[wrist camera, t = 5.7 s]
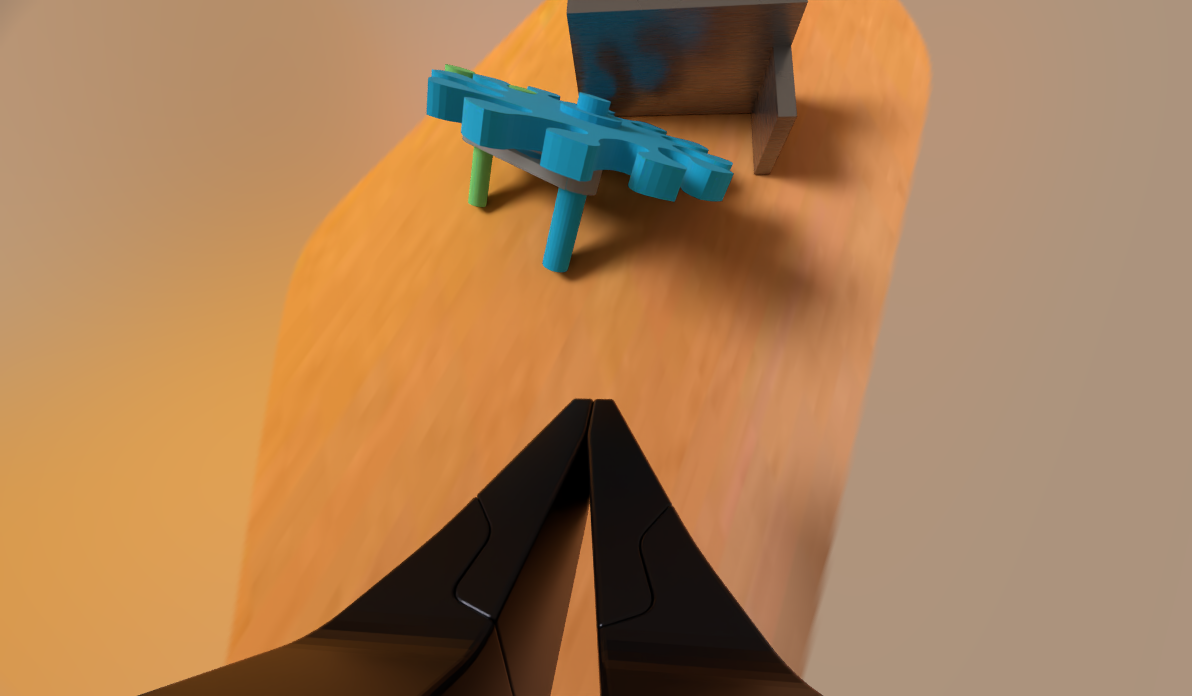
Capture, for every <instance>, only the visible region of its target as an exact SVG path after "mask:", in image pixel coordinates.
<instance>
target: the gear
mask: <svg viewBox="0 0 1192 696" xmlns="http://www.w3.org/2000/svg"><path fill="white" fill-rule="evenodd" d="M610 103H611V102H610V101H607V100H605V99H602V98H599V97H596V96H593V95H590V94H586V93H582V92H580V93H579V98H578V102H577V104H575V103H570V102H564V101H560V96H559V95H557V94H554V93H551V92H548V91H544V90H541V89H537V88H534V87H530V86H528V88H527V89H525V88H521V87H518V86H513V85H510V84H509V83H507V82H504V81H501V80H498V79H494V78H490V77H486V76H482V75H477V74H475V72H472V71H470V70H467V69H464V68H461V67H457V66H453V65H448V64H446V65H445V71H441V70H432V77H429V78H428V93H427V115H429V116H432V117H435V118H439V119H443V120H447V121H452V122H458V123H462V128H461V133H462V135H463V138H462V139H463V140H464V141H465V142H467V143H468V144H471V145H473V146H474V152H473V161H472V171H471V180H470V190H469V199H468V203H469V204H471V205H473V206H477V207H485V206H486V204H487V196H488V189H489V181H490V173H491V165H492V158H493V156H495V157H497V158H499V159H501V160H504V161H506V162H508V163H510V164H512V165H514V166H516V167H518V168H520V169H522V170H524V171H526V172H528V173H530V174H532V175H535V176H537V177H539V178H541V179H543V180H545V181H547V182H549V183H551V184H553V185H555V186H557V187H559V189H558V194H557V199H556V203H555V208H554V212H553V217H552V222H551V226H550V231H549V235H548V240H547V244H546V249H545V254H544V258H543V263H542V264H543V266H544V267H545V268H547V269H549V270H551V271H555V272H566V271H567V270H568V267H569V263H570V259H571V256H572V252H573V248H574V244H575V240H576V236H577V232H578V228H579V224H580V220H581V216H582V213H583V209H584V205H585V201H586V197H587V195H595V194H596V193H597V189H598V186H599V182H600V178H601V174H602V171H603V170H615V171H619V172H623V173H626V174H628V175H631V177H630V180H629V183H628V187H629V188H630V189H631V190H633V191H634V192H637V193H640V194H643V195H647V196H651V197H654V198H659V199H663V200H668V201H673V202H674V201H675V200H676V197H677V194H678V192H679V189H680V187H681V189H682V190H683V191H684V192H685V193H687V194H689V195H691V196H693V197H695V198H698V199H700V200H706V201H722V200H723V197H724V195H725V193H726V191H727V188H728V186H729V184H730V181H731V179H732V177H733V174H734V173H732V172H731V171H730V169H731V167H732V165H733V163H732V162H730V161H728V160H725V159H723V158H720V157H717V156H713V155H710V154H707V153H708V151H709V150H708V149H707V148H705V147H704V146H702V145H700V144H697V143H694V142H691V141H688V140H684V139H679V138H675V137H671V136H667V135H666V134H667V131H665V130H663V129H661V128H658V127H656V126H653V125H651V124H648V123H645V122H640V121H631V120H626V119H622V118H618V117H615V116H614V115H615V112H612V111H610V110H609V107H610Z"/></svg>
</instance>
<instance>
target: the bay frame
mask: <svg viewBox="0 0 1192 696" xmlns="http://www.w3.org/2000/svg"><path fill="white" fill-rule="evenodd" d="M807 3H808V0H568V3H567V19H568V26H569V33H570V40H571V46H572V53H573V60H574V67H575V73H576V80H577V87H578V94H579V93H580V92H582V93H586V94H590V95H593V96H596V97H599V98H602V99H605V100H607V101H610V102H611V103H610V107H609V110H610V111H612V112H615V115H614V116H645V115H686V114H727V113H751V121H752V140H753V159H754V174H770V172H771V170H772V168H773V166H774V164H775V162H776V160H777V157H778V155H779V153H780V151H781V149H782V147H783V145H784V143H785V141H786V138H787V136H788V134H789V132H790V130H791V128H792V126H793V124H794V122H795V119H796V117H797V110H796V98H795V87H794V75H793V63H792V51H791V45H792V42H793V39H794V37H795V34H796V32H797V29H798V26H799V24H800V21H801V18H802V16H803V13H804V11H805V8H806V5H807Z"/></svg>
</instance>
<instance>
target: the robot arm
mask: <svg viewBox="0 0 1192 696" xmlns="http://www.w3.org/2000/svg"><path fill="white" fill-rule="evenodd" d="M589 504H590V512H591V531H592V550H593V569H594V588H595V607H596V626H597V645H598V664H599V683H600V696H823V695H821V694H820V693H819V692H817V691H816V690H814V689H813V688H812V687H810V686H809V685H808V684H807V683H805V682H804V681H803V680H802V679H801V678H800V677H799V676H797V675H796V674H795V673H794V672H793V671H792V670H791V669H790V668H789V667H788V666H787V665H786V663H785V662H784V661H783V660H782V659H781V658H780V657H779V656H778V654H777V653H776V652H775V651H774V649H773V648H772V647H771V646H770V644H769V643H768V642H767V640H766V639H765V638H764V636H763V635H762V634H761V632H760V631H759V630H758V628H757V627H756V626H755V624H754V623H753V622H752V620H751V619H750V618H749V616H748V615H747V614H746V612H745V611H744V610H743V608H742V607H741V606H740V604H739V603H738V602H737V600H736V599H735V598H734V596H733V595H732V594H731V592H730V591H729V590H728V588H727V587H726V586H725V584H724V583H723V582H722V580H721V579H720V578H719V576H718V575H717V574H716V572H715V571H714V570H713V568H712V567H711V565H710V564H709V562H708V561H707V560H706V558H705V557H704V555H703V554H702V552H701V551H700V550H699V548H698V547H697V545H696V544H695V542H694V540H693V539H692V537H691V536H690V534H689V532H688V531H687V529H686V527H685V526H684V524H683V522H682V521H681V519H680V517H679V515H678V513H677V512H676V510H675V508H674V507H673V506H672V503H671V501H670V500H669V498H668V496H667V494H666V493H665V491H664V489H663V487H662V485H661V484H660V482H659V480H658V478H657V476H656V475H655V473H654V471H653V469H652V468H651V466H650V464H649V462H648V460H647V459H646V457H645V455H644V453H643V451H642V450H641V448H640V446H639V444H638V443H637V441H636V439H635V437H634V435H633V434H632V432H631V430H630V428H629V426H628V425H627V423H626V421H625V419H624V418H623V416H622V414H621V412H620V410H619V409H618V407H617V405H616V403H615V402H614V400H612V399H596V400H594V402H593V400H592V399H573V400H572V401H571V402H570V403H569V404H568V405H567V406H566V407H565V408H564V409H563V410H562V411H561V412H560V413H559V414H558V415H557V416H556V417H555V418H554V419H553V420H552V421H551V422H550V423H549V424H548V425H547V426H546V427H545V428H544V429H543V430H542V431H541V432H540V433H539V434H538V435H537V436H536V437H535V438H534V439H533V440H532V441H531V442H530V443H529V444H528V445H527V446H526V447H525V448H524V449H523V450H522V451H521V452H520V453H519V454H518V455H517V456H516V457H515V458H514V459H513V460H512V461H511V462H510V463H509V464H508V465H507V466H506V467H505V468H504V469H503V470H502V471H501V472H500V473H499V474H498V475H497V476H496V477H495V478H494V479H493V480H492V481H491V482H490V483H489V484H488V485H487V486H486V487H485V488H484V489H482V490H481V491H480V492H479V493H478V495H477V497H475V498H473V499H472V500H471V501H470V502H469V503H468V504H467V505H466V506H465V507H464V508H463V509H462V510H461V511H460V512H459V513H458V514H457V515H456V516H455V517H454V518H453V519H452V520H450V521H449V522H448V523H447V524H446V525H445V526H444V527H443V528H442V529H441V530H440V531H439V532H438V533H436V534H435V535H434V536H433V537H432V538H431V539H429V540H428V541H427V542H426V543H425V544H424V545H422V546H421V547H420V548H419V549H418V550H417V551H415V552H414V553H413V554H412V555H411V556H409V557H408V558H407V559H406V560H404V561H403V562H402V563H401V564H400V565H398V566H397V567H396V568H395V569H393V570H392V571H391V572H390V573H389V574H387V575H386V576H385V577H384V578H382V579H381V580H380V581H379V582H378V583H376V584H375V585H374V586H373V587H371V588H370V589H369V590H368V591H367V592H365V593H364V594H363V595H362V596H360V597H359V598H358V599H357V600H356V601H354V602H353V603H352V604H351V605H349V606H348V607H347V608H346V609H345V610H343V611H342V612H341V613H339V614H338V615H337V616H335V617H334V618H333V619H332V620H330V621H329V622H327V623H326V624H324V625H323V626H321V627H320V628H318V629H317V630H315V631H313V632H311V633H310V634H308V635H306V636H304V637H302V638H300V639H298V640H296V641H294V642H292V643H289V644H287V645H284V646H282V647H279V648H276V649H273V650H270V651H267V652H264V653H261V654H258V655H255V656H253V657H250V658H247V659H244V660H241V661H238V662H235V663H232V664H229V665H226V666H223V667H220V668H218V669H214V670H212V671H209V672H206V673H203V674H200V675H197V676H194V677H191V678H188V679H185V680H182V681H179V682H176V683H173V684H170V685H167V686H165V687H162V688H159V689H156V690H153V691H150V692H147V693H144V694H141V695H138V696H550V694H551V689H552V684H553V680H554V675H555V670H556V665H557V660H558V655H559V651H560V646H561V641H562V636H563V631H564V627H565V622H566V617H567V612H568V607H569V602H570V598H571V593H572V588H573V583H574V578H575V573H576V569H577V564H578V559H579V554H580V549H581V544H582V540H583V535H584V530H585V525H586V520H587V515H588V510H589Z"/></svg>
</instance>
